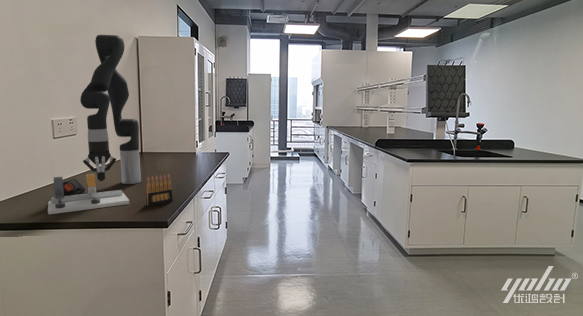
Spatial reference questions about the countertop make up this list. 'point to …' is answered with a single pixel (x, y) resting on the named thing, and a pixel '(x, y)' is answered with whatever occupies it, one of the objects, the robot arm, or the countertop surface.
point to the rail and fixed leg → (61, 198)
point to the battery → (72, 187)
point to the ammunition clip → (158, 190)
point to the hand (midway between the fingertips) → (101, 180)
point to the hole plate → (87, 204)
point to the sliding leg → (91, 184)
